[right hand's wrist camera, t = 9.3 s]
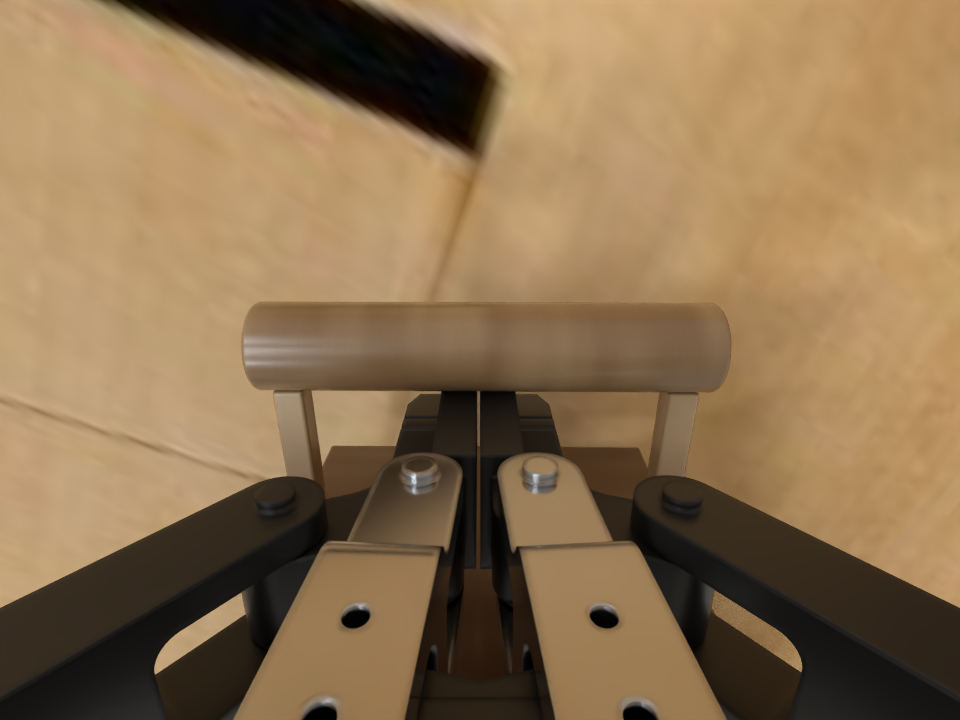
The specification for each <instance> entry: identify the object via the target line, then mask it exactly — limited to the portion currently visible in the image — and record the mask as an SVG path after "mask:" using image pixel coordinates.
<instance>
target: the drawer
mask: <svg viewBox="0 0 960 720" xmlns="http://www.w3.org/2000/svg"><path fill="white" fill-rule="evenodd" d="M241 347H242V359H243V365H244V369H245V373H246V375H247V378H248V380H249V381H250V383H251V384H252V385H253V386H254V387H255V388H257V389H259V390H275V391H274V393H273V397H274V403H275V408H276V414H277V420H278V426H279V431H280V437H281V443H282V448H283V454H284V460H285V465H286V471H287V476H298V477H304V478H308V479H311V480H313V481H316V482H317V483H318V484H320V486H321V487H322V488H323V490H324V495H325V499H328V498H333V497H338V496H343V495H348V494H352V493H356V492H359V491H362V490H364V489H366V488H369V487H371V486H372V485H373V482H374V480H375V478H376V476H377V474H378V472H379V470H380V468H381V467H382V466H383V465H384V464H386V463H387V462H388V461H390V460H392V459H393V456H394V452H395V449H396V446H332V447H331V449H330V452H329V454H328V456H327V458H326V460H325V462H324V464H323V466H322V462H321V455H320V448H319V441H318V434H317V427H316V420H315V413H314V406H313V399H312V392H311V390H324V391H522V392H660V393H659V400H658V407H657V413H656V420H655V426H654V433H653V440H652V446H651V453H650V459H649V466H648V467H647V465H646V463H645V461H644V459H643V457H642V454H641V452H640V450H639V449H638V448H610V447H561V450H562V454H563V457H564V458H566V459H568V460H570V461H572V462H573V463H574V464H576V465H577V466H578V467H579V468H580V470H581V472H582V474H583V476H584V478H585V480H586V482H587V485H588V487H589V489H592V490H594V491H597V492H600V493H604V494H608V495H612V496H617V497H622V498H628V499H633V493H634V489H635V487H636V486H637V484H638V483H640V482H641V481H642V480H644V479H647V478H650V477H653V476H660V475H672V476H681V477H684V474H685V468H686V463H687V457H688V452H689V447H690V441H691V436H692V430H693V425H694V420H695V414H696V409H697V404H698V398H699V395H698V393H697V392H713V391H716V390H717V389H719V388H720V387H721V385H722V384H723V382H724V380H725V378H726V376H727V372H728V369H729V364H730V357H731V336H730V329H729V324H728V321H727V318H726V316H725V314H724V312H723V310H722V309H721V308H720V307H719V306H717V305H715V304H712V303H483V302H259V303H256V304H254V305H253V306H252V307H251V308H250V310H249V311H248V313H247V316H246V318H245V322H244V326H243V331H242V345H241ZM710 612H712V613H713V614H715V613H714V611H713V609H712V607H711V611H710ZM455 676H457V677H462V678H466V679H470V680H475V681H485V680H490V679H494V678H498V677H503V676H505V675H504V667H503V660H502V652H501V644H500V637H499V629H498V621H497V614H496V592H495V590H494V588H493V584H492V569H480V447H477V535H476V569H464V614H463V621H462V629H461V637H460V645H459V652H458V660H457V668H456V675H455Z"/></svg>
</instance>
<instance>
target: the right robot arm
mask: <svg viewBox="0 0 960 720" xmlns="http://www.w3.org/2000/svg"><path fill="white" fill-rule="evenodd" d="M476 535H477V391H442V392H441V394H420V395H419V396H418V397H417V398H415V399H414V400H413V401H412V402H411V403H409V404H408V406H407V410H406V414H405V419H404V421H403V424H402V429H401V431H400V435H399V438H398V442H397V445H396V449H395V452H394V456H393V459H392V460H390V461H388V462H387V463H386V464H384V465H383V466H382V467H381V468H380V470H379V472H378V474H377V476H376V478H375V480H374V482H373V485H372V486H371V487H369V488H366V489H364V490H362V491H359V492H356V493H352V494H348V495H343V496H338V497H333V498H328V499H325V495H324V490H323V488H322V487H321V486H320V484H318V483H317V482H316V481H313V480H311V479H308V478H304V477H298V476H286V477H277V478H272V479H268V480H265V481H262V482H259V483H256V484H254V485H252V486H250V487H248V488H245V489H243V490H241V491H239V492H237V493H235V494H233V495H231V496H229V497H227V498H225V499H223V500H221V501H219V502H217V503H215V504H213V505H211V506H209V507H206V508H204V509H202V510H200V511H198V512H196V513H194V514H192V515H190V516H188V517H186V518H184V519H182V520H180V521H178V522H176V523H174V524H172V525H170V526H168V527H165V528H163V529H161V530H159V531H157V532H155V533H153V534H151V535H149V536H147V537H145V538H143V539H141V540H139V541H137V542H135V543H133V544H131V545H129V546H126V547H124V548H122V549H120V550H118V551H116V552H114V553H112V554H110V555H108V556H106V557H104V558H102V559H100V560H98V561H96V562H94V563H92V564H90V565H88V566H85V567H83V568H81V569H79V570H77V571H75V572H73V573H71V574H69V575H67V576H65V577H63V578H61V579H59V580H57V581H55V582H53V583H51V584H49V585H47V586H44V587H42V588H40V589H38V590H36V591H34V592H32V593H30V594H28V595H26V596H24V597H22V598H20V599H18V600H16V601H14V602H12V603H10V604H8V605H5V606H3V607H1V608H0V720H960V608H959V607H957V606H954V605H952V604H950V603H948V602H946V601H944V600H942V599H940V598H938V597H936V596H934V595H932V594H930V593H928V592H926V591H924V590H922V589H920V588H918V587H916V586H913V585H911V584H909V583H907V582H905V581H903V580H901V579H899V578H897V577H895V576H893V575H891V574H889V573H887V572H885V571H883V570H881V569H879V568H877V567H875V566H872V565H870V564H868V563H866V562H864V561H862V560H860V559H858V558H856V557H854V556H852V555H850V554H848V553H846V552H844V551H842V550H840V549H838V548H836V547H833V546H831V545H829V544H827V543H825V542H823V541H821V540H819V539H817V538H815V537H813V536H811V535H809V534H807V533H805V532H803V531H801V530H799V529H797V528H795V527H792V526H790V525H788V524H786V523H784V522H782V521H780V520H778V519H776V518H774V517H772V516H770V515H768V514H766V513H764V512H762V511H760V510H758V509H756V508H753V507H751V506H749V505H747V504H745V503H743V502H741V501H739V500H737V499H735V498H733V497H731V496H729V495H727V494H725V493H723V492H721V491H719V490H717V489H715V488H712V487H710V486H708V485H706V484H704V483H702V482H699V481H696V480H693V479H690V478H686V477H681V476H672V475H660V476H653V477H650V478H647V479H644V480H642V481H641V482H640V483H638V484H637V486H636V487H635V489H634V493H633V499H628V498H622V497H617V496H612V495H608V494H604V493H600V492H597V491H594V490H592V489H589V487H588V485H587V482H586V480H585V478H584V476H583V474H582V472H581V470H580V468H579V467H578V466H577V465H576V464H574V463H573V462H572V461H570V460H568V459H566V458H564V457H563V454H562V450H561V447H560V443H559V439H558V436H557V432H556V429H555V425H554V421H553V419H552V414H551V410H550V406H549V404H548V403H546V402H545V401H544V400H543V399H542V398H540V397H539V396H538V395H537V394H516V393H515V391H480V569H492V584H493V588H494V590H495V592H496V614H497V621H498V629H499V637H500V644H501V652H502V660H503V667H504V675H505V676H503V677H498V678H494V679H490V680H485V681H475V680H470V679H466V678H462V677H457V676H455V675H456V668H457V660H458V652H459V645H460V637H461V629H462V621H463V614H464V569H476ZM715 590H716V591H717V592H719V593H721V594H722V595H724V596H725V597H727V598H728V599H730V600H732V601H733V602H735V603H736V604H738V605H739V606H741V607H743V608H744V609H746V610H747V611H749V612H750V613H752V614H754V615H755V616H757V617H758V618H760V619H762V620H763V621H765V622H766V623H768V624H769V625H771V626H773V627H774V628H776V629H777V630H779V631H780V632H781V633H783V634H784V635H785V636H786V637H787V638H788V639H789V640H790V641H791V642H792V644H793V645H794V646H795V648H796V649H797V651H798V653H799V655H800V657H801V661H802V673H801V672H800V671H798V670H797V669H795V668H794V667H792V666H791V665H789V664H788V663H786V662H785V661H783V660H782V659H780V658H779V657H777V656H776V655H774V654H773V653H771V652H770V651H768V650H767V649H765V648H764V647H762V646H761V645H759V644H758V643H756V642H755V641H753V640H752V639H750V638H749V637H747V636H746V635H744V634H743V633H741V632H740V631H738V630H737V629H735V628H734V627H732V626H731V625H729V624H728V623H726V622H725V621H723V620H722V619H720V618H719V617H717V616H716V615H715V614H713V613H712V612H710V611H711V606H712V601H713V596H714V591H715ZM241 592H242V597H243V602H244V607H245V612H246V614H245V615H244V616H242V617H241V618H240V619H238V620H237V621H235V622H234V623H232V624H231V625H229V626H228V627H226V628H225V629H223V630H222V631H220V632H219V633H217V634H216V635H214V636H213V637H211V638H210V639H208V640H207V641H205V642H204V643H202V644H201V645H199V646H198V647H196V648H195V649H193V650H192V651H190V652H189V653H187V654H186V655H184V656H183V657H181V658H180V659H178V660H177V661H175V662H174V663H172V664H171V665H169V666H168V667H166V668H165V669H163V670H162V671H160V672H159V673H157V674H156V675H155V673H154V665H155V661H156V659H157V656H158V654H159V653H160V651H161V649H162V648H163V647H164V645H165V644H166V643H167V642H168V641H169V640H170V639H171V638H172V637H173V636H174V635H175V634H177V633H178V632H180V631H181V630H183V629H184V628H186V627H187V626H189V625H191V624H192V623H194V622H195V621H197V620H198V619H200V618H202V617H203V616H205V615H206V614H208V613H209V612H211V611H213V610H214V609H216V608H217V607H219V606H221V605H222V604H224V603H225V602H227V601H228V600H230V599H232V598H233V597H235V596H236V595H238V594H239V593H241Z"/></svg>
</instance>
